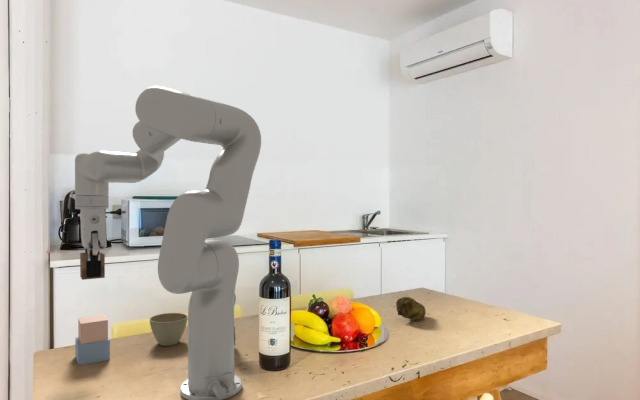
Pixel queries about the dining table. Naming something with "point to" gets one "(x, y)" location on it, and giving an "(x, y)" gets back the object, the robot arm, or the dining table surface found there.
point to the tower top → (92, 329)
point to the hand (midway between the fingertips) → (92, 274)
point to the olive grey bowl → (168, 327)
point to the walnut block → (83, 266)
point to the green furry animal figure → (410, 308)
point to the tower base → (92, 351)
